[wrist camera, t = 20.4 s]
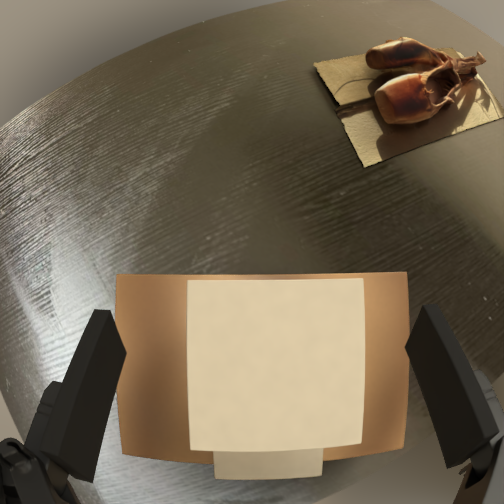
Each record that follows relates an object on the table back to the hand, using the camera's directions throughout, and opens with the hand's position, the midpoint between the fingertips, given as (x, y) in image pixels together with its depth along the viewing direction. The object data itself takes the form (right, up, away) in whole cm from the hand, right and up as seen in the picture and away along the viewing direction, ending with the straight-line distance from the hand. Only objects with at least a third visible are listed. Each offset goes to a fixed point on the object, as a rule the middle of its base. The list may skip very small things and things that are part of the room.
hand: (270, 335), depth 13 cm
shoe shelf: (0, -6, +12) cm, 14 cm away
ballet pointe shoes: (+20, +23, +19) cm, 36 cm away
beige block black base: (0, -4, +7) cm, 8 cm away
